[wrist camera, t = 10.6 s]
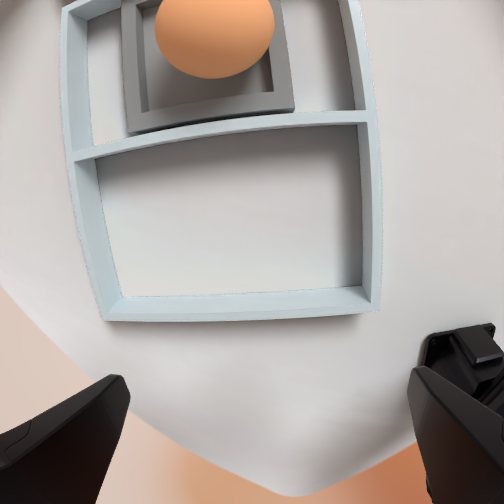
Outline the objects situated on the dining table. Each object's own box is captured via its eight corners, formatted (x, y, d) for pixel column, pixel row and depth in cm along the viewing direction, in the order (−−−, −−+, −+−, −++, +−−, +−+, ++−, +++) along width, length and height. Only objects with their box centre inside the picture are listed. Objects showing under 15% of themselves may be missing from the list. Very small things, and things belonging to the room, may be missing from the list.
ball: (256, 87, 18) (303, 60, 12) (154, 95, 16) (162, 63, 10) (245, 4, 16) (285, -42, 10) (149, 7, 14) (158, -48, 9)
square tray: (294, 110, 17) (294, 107, 16) (138, 133, 18) (128, 132, 17) (274, -25, 14) (273, -36, 13) (131, 4, 16) (121, -3, 14)
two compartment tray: (370, 293, 20) (379, 311, 18) (117, 304, 23) (102, 320, 20) (338, -34, 14) (344, -53, 11) (81, 17, 16) (61, 7, 14)
